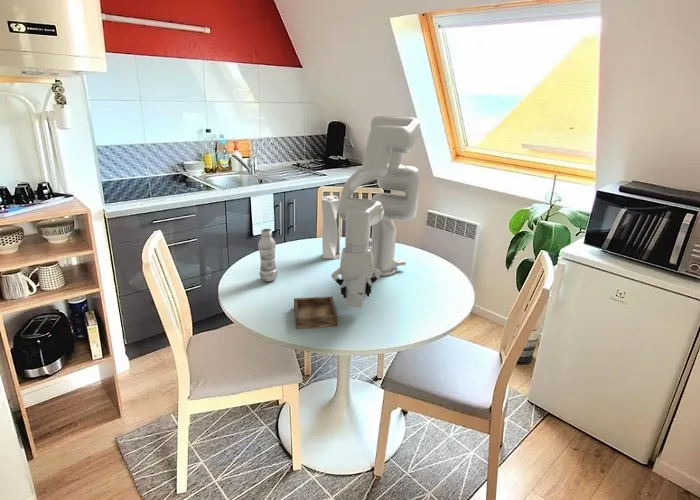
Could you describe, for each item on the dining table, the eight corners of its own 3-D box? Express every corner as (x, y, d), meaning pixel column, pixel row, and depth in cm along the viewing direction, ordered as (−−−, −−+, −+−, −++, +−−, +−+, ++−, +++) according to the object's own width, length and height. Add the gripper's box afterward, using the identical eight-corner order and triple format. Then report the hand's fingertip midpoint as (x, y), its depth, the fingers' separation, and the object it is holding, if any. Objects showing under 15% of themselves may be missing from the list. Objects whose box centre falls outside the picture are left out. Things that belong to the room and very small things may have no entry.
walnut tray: (332, 305, 150) (332, 296, 149) (337, 326, 138) (337, 316, 137) (294, 307, 148) (293, 298, 147) (296, 328, 136) (295, 319, 135)
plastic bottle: (280, 277, 168) (278, 228, 160) (271, 285, 162) (269, 234, 154) (265, 274, 170) (263, 226, 162) (256, 282, 164) (253, 232, 156)
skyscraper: (339, 261, 185) (341, 196, 174) (320, 260, 185) (320, 196, 174) (340, 253, 192) (341, 191, 182) (321, 252, 192) (322, 190, 182)
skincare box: (344, 305, 144) (345, 272, 139) (348, 298, 148) (349, 266, 142) (362, 309, 142) (364, 276, 137) (366, 302, 146) (367, 269, 141)
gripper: (381, 239, 141) (379, 288, 148) (328, 242, 138) (328, 291, 145) (387, 249, 134) (384, 299, 142) (331, 252, 131) (330, 303, 139)
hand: (355, 295), depth 143 cm, fingers closed on skincare box, 7 cm apart
